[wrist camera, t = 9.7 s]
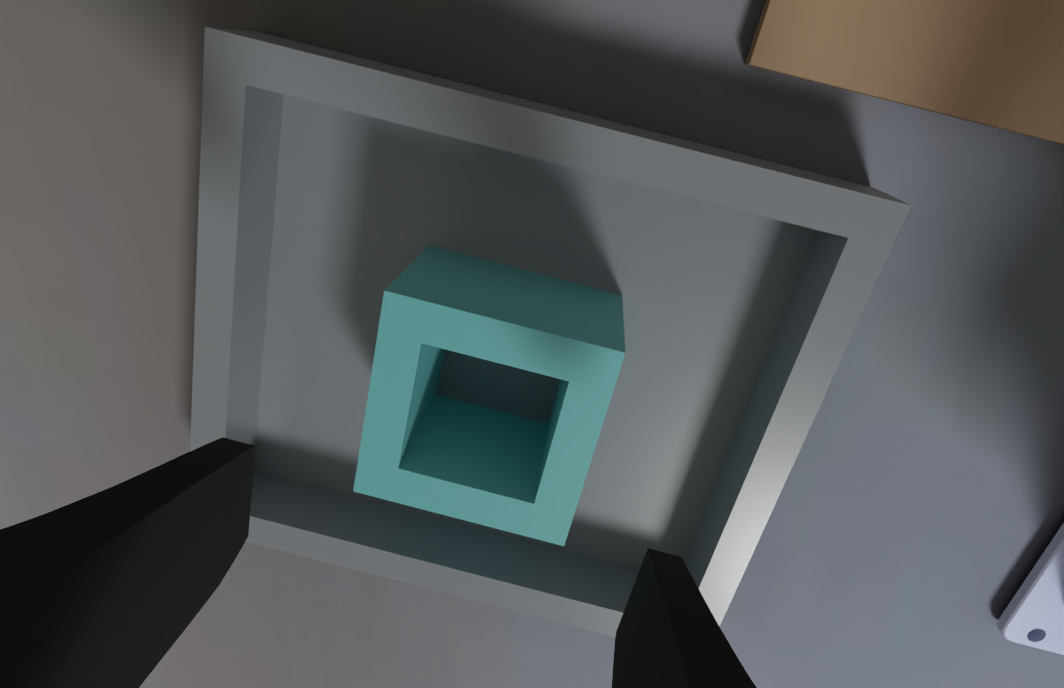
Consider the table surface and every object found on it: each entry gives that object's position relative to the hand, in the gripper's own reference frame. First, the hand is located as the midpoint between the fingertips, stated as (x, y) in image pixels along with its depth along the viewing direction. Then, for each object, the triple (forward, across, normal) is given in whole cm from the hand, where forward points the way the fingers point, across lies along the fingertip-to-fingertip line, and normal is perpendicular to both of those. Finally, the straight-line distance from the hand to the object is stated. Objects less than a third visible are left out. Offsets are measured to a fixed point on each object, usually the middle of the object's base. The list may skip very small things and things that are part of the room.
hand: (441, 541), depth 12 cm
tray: (+8, 0, 0) cm, 9 cm away
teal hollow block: (+8, 0, 0) cm, 8 cm away
